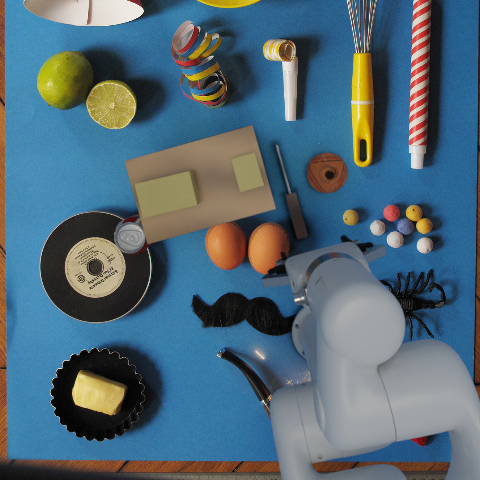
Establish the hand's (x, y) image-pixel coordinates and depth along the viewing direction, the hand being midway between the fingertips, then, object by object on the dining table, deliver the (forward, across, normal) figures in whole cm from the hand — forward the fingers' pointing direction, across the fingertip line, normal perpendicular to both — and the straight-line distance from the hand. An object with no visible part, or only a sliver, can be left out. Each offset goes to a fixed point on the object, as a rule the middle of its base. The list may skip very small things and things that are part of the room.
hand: (314, 253), depth 65 cm
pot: (+20, +8, +10) cm, 24 cm away
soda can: (+20, -30, +9) cm, 37 cm away
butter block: (-3, -18, +15) cm, 24 cm away
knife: (+20, 0, +9) cm, 22 cm away
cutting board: (+20, -14, +15) cm, 29 cm away
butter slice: (-4, -8, +15) cm, 18 cm away
